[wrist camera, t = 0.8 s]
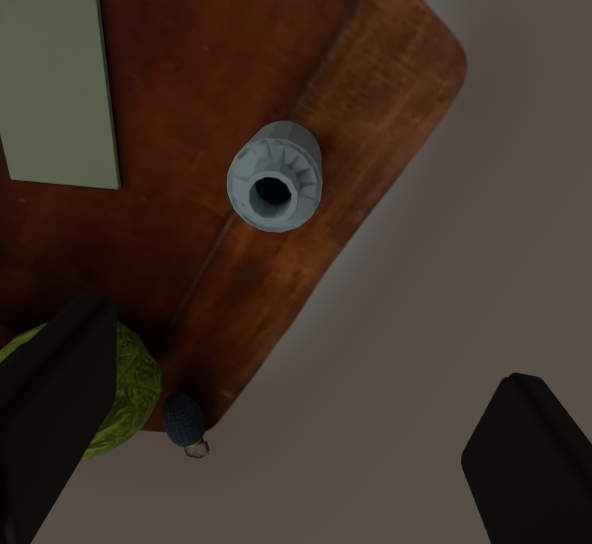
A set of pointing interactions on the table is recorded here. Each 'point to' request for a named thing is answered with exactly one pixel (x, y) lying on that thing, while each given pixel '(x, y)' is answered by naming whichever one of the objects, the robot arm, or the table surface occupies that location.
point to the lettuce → (119, 389)
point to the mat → (56, 94)
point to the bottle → (277, 177)
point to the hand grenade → (185, 424)
